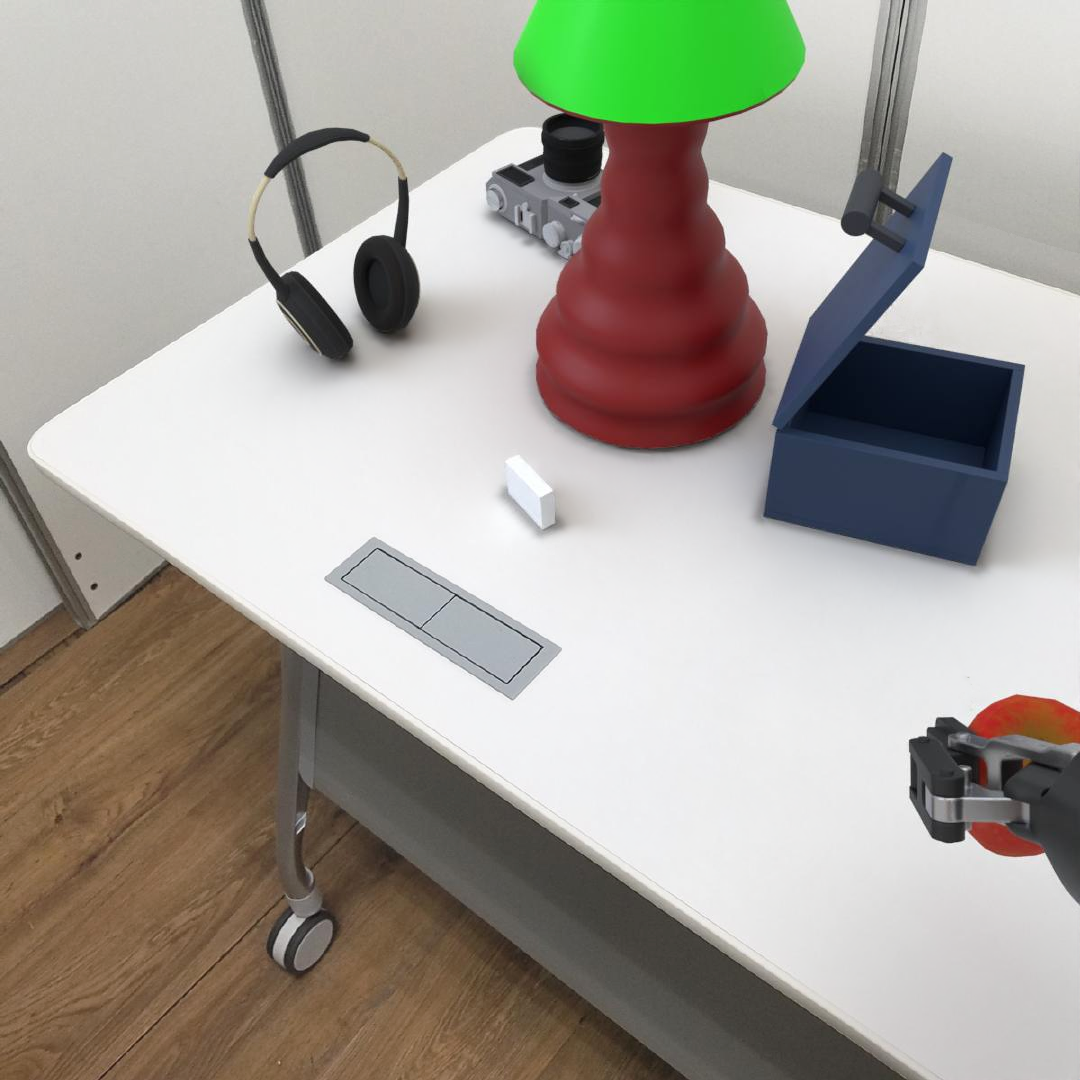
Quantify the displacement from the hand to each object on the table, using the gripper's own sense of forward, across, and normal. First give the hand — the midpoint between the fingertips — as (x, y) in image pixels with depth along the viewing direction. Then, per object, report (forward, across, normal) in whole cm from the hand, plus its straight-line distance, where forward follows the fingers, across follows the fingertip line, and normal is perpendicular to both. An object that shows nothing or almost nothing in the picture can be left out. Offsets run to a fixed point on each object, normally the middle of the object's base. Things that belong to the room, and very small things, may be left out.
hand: (1019, 737), depth 50 cm
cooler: (+37, -3, -11) cm, 38 cm away
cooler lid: (+26, +1, -24) cm, 35 cm away
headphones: (+51, +41, -25) cm, 70 cm away
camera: (+63, +21, -37) cm, 76 cm away
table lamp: (+46, +14, -21) cm, 53 cm away
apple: (+2, 0, +5) cm, 5 cm away
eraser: (+35, +24, -10) cm, 44 cm away
